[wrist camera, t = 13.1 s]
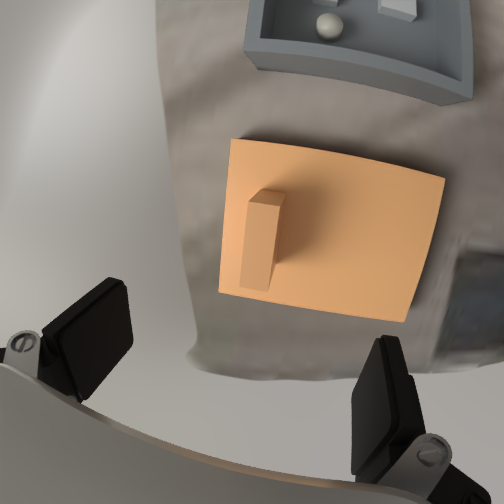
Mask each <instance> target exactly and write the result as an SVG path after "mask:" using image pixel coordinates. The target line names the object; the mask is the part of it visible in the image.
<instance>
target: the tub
mask: <svg viewBox="0 0 504 504" xmlns="http://www.w3.org/2000/svg"><path fill="white" fill-rule="evenodd" d="M243 51H244V53H245V54H246V55H247V56H248V58H249V59H250V60H251V61H252V63H253V64H254V65H255V66H256V68H257V69H258V70H265V71H277V72H287V73H296V74H304V75H312V76H319V77H325V78H331V79H337V80H343V81H348V82H353V83H358V84H363V85H367V86H372V87H376V88H380V89H384V90H388V91H392V92H396V93H400V94H403V95H407V96H410V97H414V98H417V99H420V100H424V101H427V102H430V103H433V104H436V105H439V106H443V105H448V104H453V103H458V102H463V101H468V100H473V74H474V63H473V35H472V22H471V12H470V4H469V0H250V3H249V10H248V17H247V24H246V32H245V39H244V47H243Z"/></svg>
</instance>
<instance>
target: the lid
mask: <svg viewBox="0 0 504 504" xmlns="http://www.w3.org/2000/svg"><path fill="white" fill-rule="evenodd" d="M444 183H445V178H442V177H439V176H436V175H433V174H429V173H425V172H422V171H418V170H414V169H410V168H406V167H402V166H398V165H394V164H390V163H386V162H381V161H377V160H372V159H368V158H363V157H358V156H353V155H348V154H343V153H337V152H332V151H326V150H320V149H314V148H308V147H302V146H295V145H288V144H280V143H272V142H264V141H255V140H246V139H231V149H230V159H229V169H228V180H227V191H226V203H225V214H224V227H223V239H222V252H221V266H220V281H219V292H221V293H226V294H231V295H236V296H241V297H247V298H252V299H257V300H263V301H268V302H274V303H279V304H285V305H291V306H297V307H303V308H309V309H315V310H321V311H327V312H334V313H340V314H347V315H353V316H360V317H367V318H374V319H382V320H389V321H397V322H404V320H405V318H406V315H407V312H408V310H409V307H410V304H411V302H412V299H413V296H414V293H415V291H416V288H417V285H418V282H419V279H420V276H421V273H422V270H423V266H424V263H425V260H426V257H427V253H428V250H429V246H430V243H431V239H432V235H433V232H434V228H435V224H436V220H437V216H438V212H439V207H440V203H441V198H442V193H443V189H444Z"/></svg>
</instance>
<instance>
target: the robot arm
mask: <svg viewBox="0 0 504 504" xmlns="http://www.w3.org/2000/svg"><path fill="white" fill-rule="evenodd" d="M42 333H43V336H42V337H41V338H40V336H39V335H38V334H37V333H36V332H34V331H27V330H26V331H21V332H19V333H16V334H15V335H13V336H12V337H11V338H10V339H9V341H8V343H7V347H6V348H0V504H491V497H490V495H489V493H488V492H487V491H486V490H485V489H484V488H483V487H482V486H480V485H479V484H478V483H476V482H475V481H473V480H472V479H471V478H469V477H468V476H466V475H465V474H464V473H463V472H461V471H460V470H459V469H457V468H456V467H455V466H453V465H452V464H451V463H450V462H451V459H452V450H451V447H450V445H449V444H448V442H447V441H446V440H445V439H444V438H443V437H441V436H439V435H437V434H432V433H428V434H426V430H425V425H424V420H423V416H422V411H421V407H420V402H419V398H418V394H417V390H416V386H415V382H414V379H413V376H411V375H409V374H408V370H407V366H406V362H405V359H404V355H403V351H402V348H401V344H400V341H399V338H398V337H396V336H389V335H382V336H381V338H376V339H375V341H374V344H373V346H372V349H371V351H370V354H369V356H368V358H367V361H366V363H365V365H364V368H363V370H362V372H361V374H360V376H359V379H358V381H357V383H356V385H355V388H354V390H353V392H352V399H351V403H352V456H351V457H352V458H351V473H352V475H356V478H355V482H349V481H341V480H330V479H321V478H313V477H306V476H299V475H293V474H287V473H281V472H275V471H270V470H265V469H260V468H255V467H251V466H246V465H242V464H238V463H233V462H230V461H226V460H222V459H219V458H215V457H211V456H208V455H205V454H201V453H198V452H195V451H192V450H188V449H185V448H182V447H180V446H177V445H174V444H171V443H168V442H165V441H163V440H160V439H157V438H155V437H152V436H149V435H147V434H144V433H142V432H140V431H137V430H135V429H133V428H130V427H128V426H126V425H123V424H121V423H119V422H116V421H115V420H112V419H110V418H108V417H106V416H104V415H102V414H100V413H98V412H96V411H94V410H92V409H90V408H88V407H86V406H84V405H82V404H81V403H82V401H83V400H87V399H88V398H89V397H90V396H91V395H92V394H93V392H94V391H95V390H96V389H97V387H98V386H99V385H100V384H101V383H102V381H103V380H104V379H105V378H106V377H107V375H108V374H109V373H110V372H111V371H112V369H113V368H114V367H115V366H116V365H117V363H118V362H119V361H120V360H121V359H122V357H123V356H124V355H125V354H126V353H127V351H128V350H129V349H130V348H131V347H132V344H133V333H132V325H131V318H130V311H129V304H128V294H127V287H126V286H125V285H124V283H123V281H122V280H119V279H115V278H112V277H108V278H107V279H105V280H104V281H103V282H101V283H100V284H99V285H97V286H96V287H95V288H93V289H92V290H91V291H89V292H88V293H87V294H86V295H84V296H83V297H82V298H81V299H79V300H78V301H77V302H75V303H74V304H73V305H71V306H70V307H69V308H68V309H66V310H65V311H64V312H63V313H62V314H60V315H59V316H58V317H57V318H55V319H54V320H53V321H52V322H50V323H49V324H48V325H47V326H46V327H44V328H43V329H42Z"/></svg>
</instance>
